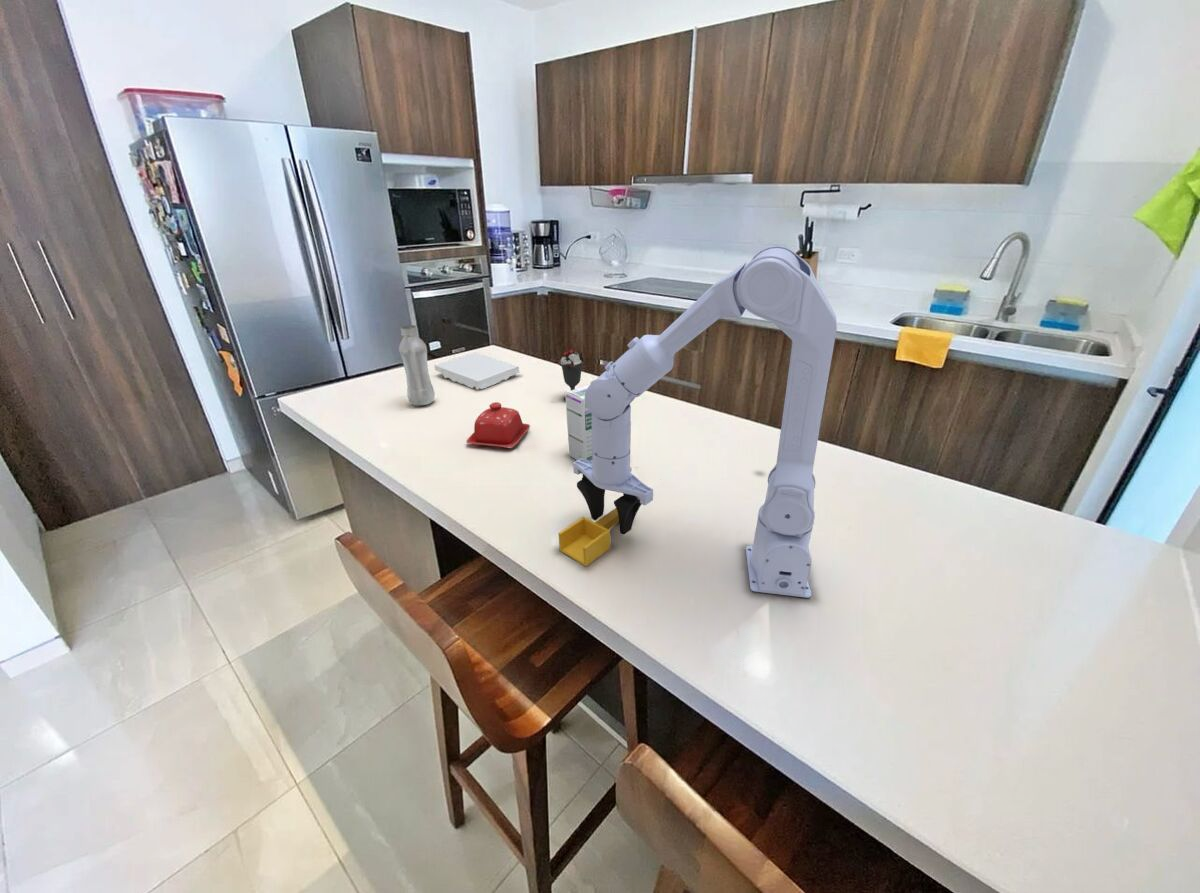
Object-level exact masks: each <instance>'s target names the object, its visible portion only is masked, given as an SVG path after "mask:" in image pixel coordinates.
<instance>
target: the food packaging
mask: <svg viewBox="0 0 1200 893" xmlns="http://www.w3.org/2000/svg"><path fill="white" fill-rule="evenodd" d="M434 370H435V371H436V372H438V373H441V374H442V376H443V378H444V379H450V381H452V382H454V383H455V382H457V383H458V384H461V385H465V386H466V387H467V388H470V389H476V390H477V391H479V390H483V389H486V388H489V387H490V386H494V385H496V384H499V383H501V382H502V381H507V380H508V379H509V378H510V377H511V376H515V375H517V374H519V373H520V366H519V365H516V364H513V363H510V362H507V361H504V360H501V359H497V358H495V357H491V356H489V355H486V354H483V353H479V352H476V351H474V352H471V353H468V354H465V355H461V356H459V357H456V358H455V357H454V358H452V359H449V360H445V361H443V362H439V363H437V364H434Z"/></svg>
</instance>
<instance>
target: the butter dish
mask: <svg viewBox="0 0 1200 893" xmlns="http://www.w3.org/2000/svg"><path fill="white" fill-rule="evenodd" d="M473 427H474V428H473V430H474V431H473V433H472V434H471V435H470V436H469V437H468V438H467V439H466V444H469V445H478V446H489V447H490V446H491V447H500V448H513V447H515V446H516V445H517V444H518V442H520V440H521V439H522V437H523V436H524V435H525V434H526V432H528V430H529V428H530V427H531V425H530V424H529V423H524V422H523V420H522V417H521V414H520V413H519V411H518V410H517V409H514V408H510V407H504V406H502V403H501V402H498V401H496V402H491V403H490V404H489V408H487V409H485V410H483V411H482V412H481V413H480V414H478V416H477V417H476V419H475V420H474V426H473Z"/></svg>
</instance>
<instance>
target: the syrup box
mask: <svg viewBox="0 0 1200 893" xmlns="http://www.w3.org/2000/svg"><path fill="white" fill-rule="evenodd" d="M589 386H590V384H587V385H585V386H581V387H577V388H575V389H574V390H571V389H570V390H567V391H565V392H564V393H565V396H564V397H566V401H565V411H566V428H567V441H568V442H567V443H568V455H569V456H570V457H572V458H573V459H574V460H575V461H577V460H579V459H581V458H582V459H584V460H588V461H592V413H591V412H590V411H589V410H588V408H587V406H586V403H585V392H586V390H587V388H588V387H589Z"/></svg>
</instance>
